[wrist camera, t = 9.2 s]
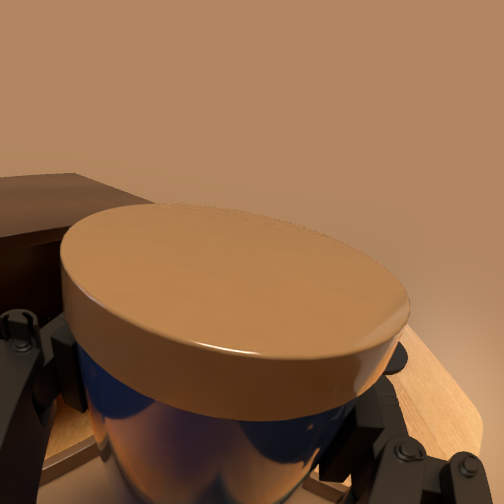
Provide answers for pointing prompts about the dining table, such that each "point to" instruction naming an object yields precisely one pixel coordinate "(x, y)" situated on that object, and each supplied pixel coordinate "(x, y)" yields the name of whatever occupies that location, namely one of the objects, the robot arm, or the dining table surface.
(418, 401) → the dining table surface
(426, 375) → the dining table surface
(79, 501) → the drawer
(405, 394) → the dining table surface
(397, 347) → the coaster
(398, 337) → the jar
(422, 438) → the dining table surface
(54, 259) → the cabinet
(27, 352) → the robot arm
